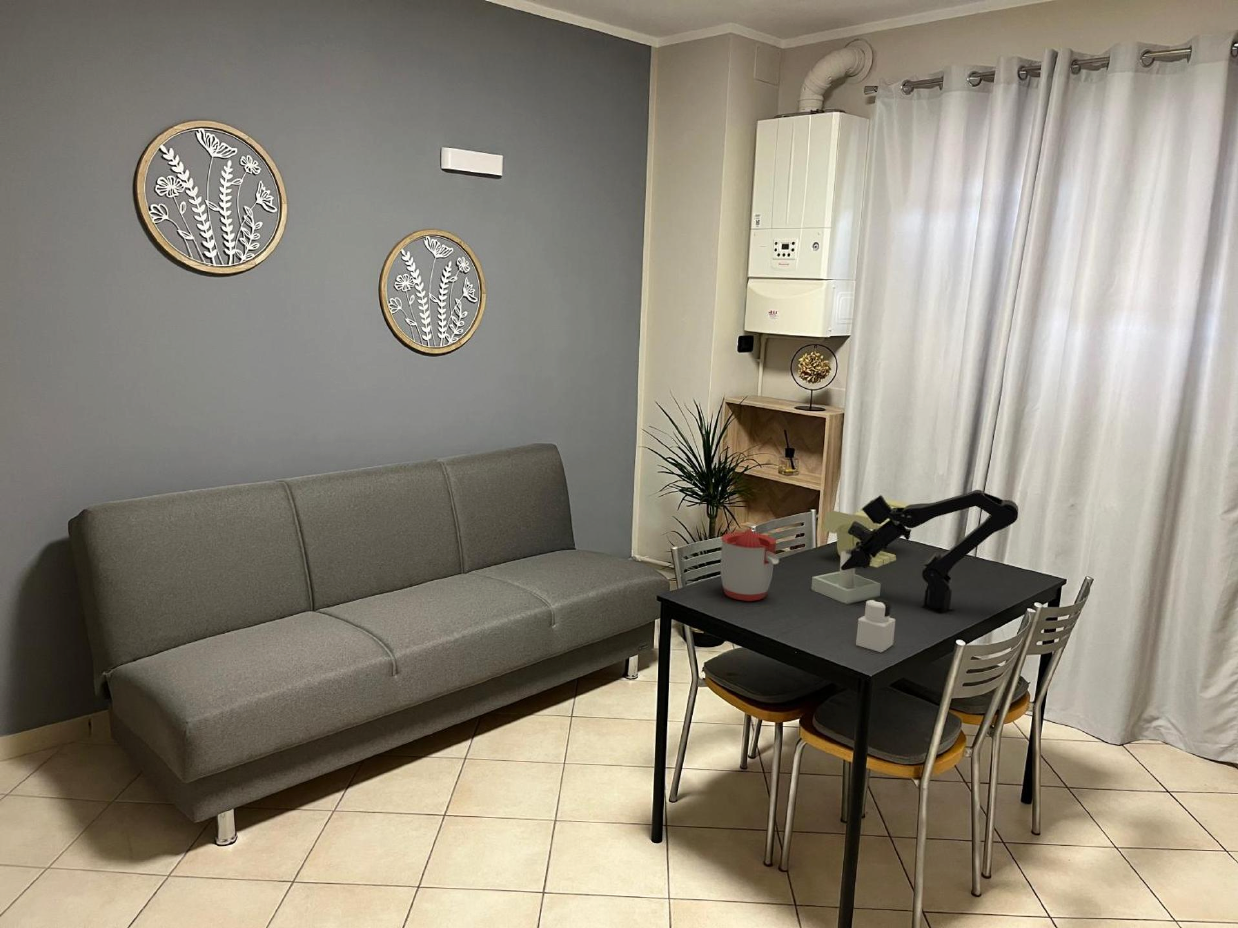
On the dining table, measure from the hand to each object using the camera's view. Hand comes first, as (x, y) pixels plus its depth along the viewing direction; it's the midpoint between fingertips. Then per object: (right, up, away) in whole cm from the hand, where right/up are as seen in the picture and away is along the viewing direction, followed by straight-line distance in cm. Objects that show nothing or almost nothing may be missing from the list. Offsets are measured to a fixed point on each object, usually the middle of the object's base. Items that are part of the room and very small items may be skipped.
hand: (843, 566), depth 275 cm
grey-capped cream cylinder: (+1, -7, +1) cm, 7 cm away
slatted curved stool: (+17, -1, +38) cm, 41 cm away
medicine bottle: (-1, -16, -38) cm, 41 cm away
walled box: (+1, -8, +1) cm, 8 cm away
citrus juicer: (-29, -8, -5) cm, 31 cm away
